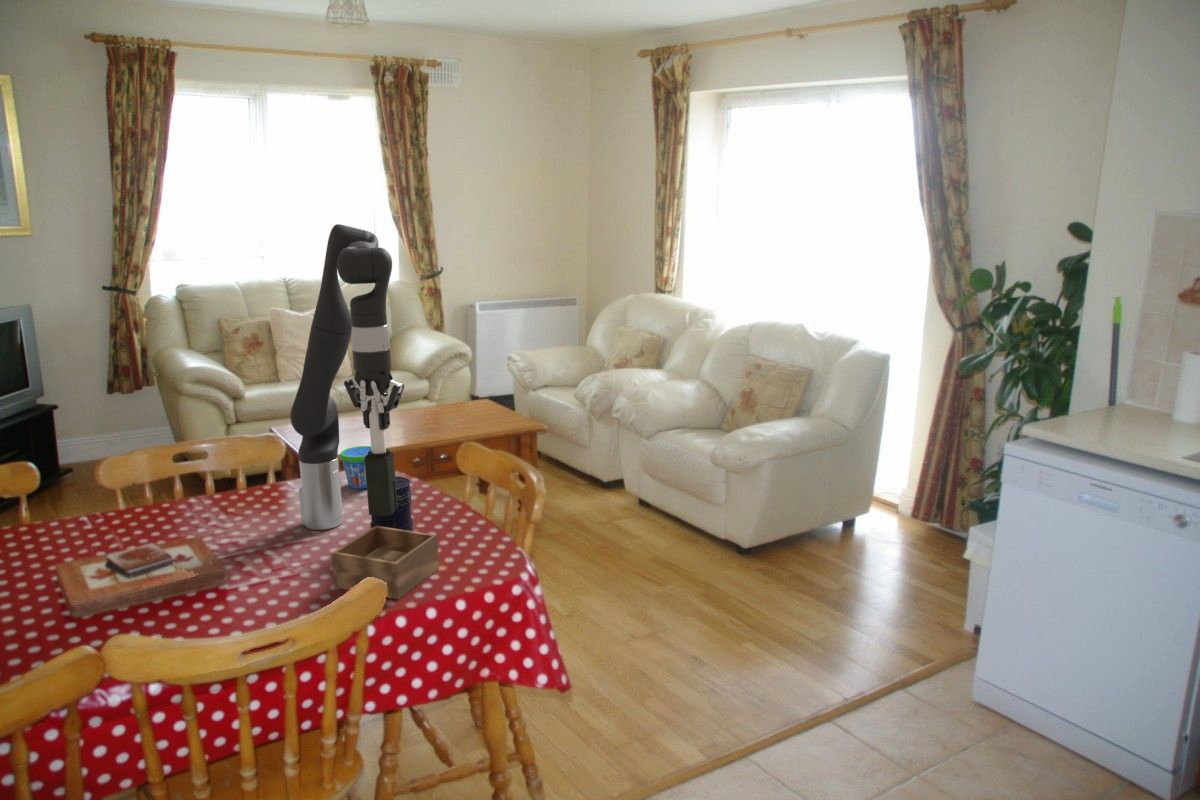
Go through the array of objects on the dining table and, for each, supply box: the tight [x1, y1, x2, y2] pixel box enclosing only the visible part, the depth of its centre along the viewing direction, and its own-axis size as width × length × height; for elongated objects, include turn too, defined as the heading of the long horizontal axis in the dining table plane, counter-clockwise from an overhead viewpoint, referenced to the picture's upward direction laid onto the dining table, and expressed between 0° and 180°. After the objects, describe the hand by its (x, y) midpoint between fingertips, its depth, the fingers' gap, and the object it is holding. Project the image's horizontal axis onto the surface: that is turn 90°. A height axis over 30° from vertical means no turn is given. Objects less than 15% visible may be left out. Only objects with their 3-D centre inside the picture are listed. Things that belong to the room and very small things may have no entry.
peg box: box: [331, 526, 440, 601], centre depth 195 cm, size 16×16×8 cm
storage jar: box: [370, 475, 415, 532], centre depth 213 cm, size 10×10×15 cm
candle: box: [364, 397, 398, 516], centre depth 189 cm, size 5×5×25 cm
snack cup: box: [339, 445, 372, 490], centre depth 252 cm, size 16×10×10 cm
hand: (377, 427), depth 187 cm, fingers closed on candle, 3 cm apart
